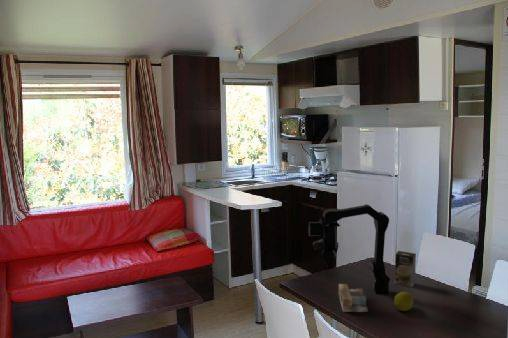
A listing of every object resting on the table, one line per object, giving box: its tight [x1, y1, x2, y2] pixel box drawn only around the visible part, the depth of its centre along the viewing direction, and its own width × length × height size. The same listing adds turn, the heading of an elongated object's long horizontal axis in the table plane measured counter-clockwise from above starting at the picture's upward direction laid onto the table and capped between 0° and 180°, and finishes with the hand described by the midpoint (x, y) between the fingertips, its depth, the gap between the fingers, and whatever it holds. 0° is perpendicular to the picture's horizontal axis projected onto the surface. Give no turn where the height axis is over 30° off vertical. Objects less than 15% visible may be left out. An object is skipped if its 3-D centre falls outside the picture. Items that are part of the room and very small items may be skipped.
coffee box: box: [394, 250, 417, 288], centre depth 230 cm, size 9×6×16 cm
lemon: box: [393, 291, 414, 312], centre depth 201 cm, size 11×8×8 cm
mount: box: [338, 283, 369, 313], centre depth 209 cm, size 11×18×6 cm, turn 175°
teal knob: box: [351, 294, 367, 306], centre depth 205 cm, size 10×4×5 cm, turn 85°
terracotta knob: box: [348, 287, 364, 296], centre depth 212 cm, size 10×4×5 cm, turn 85°
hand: (330, 266), depth 219 cm, fingers open, 9 cm apart
